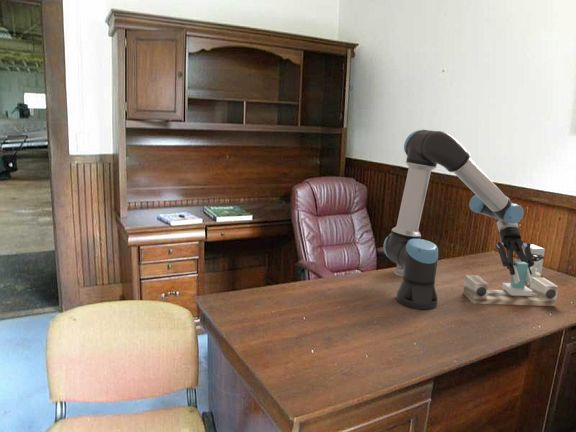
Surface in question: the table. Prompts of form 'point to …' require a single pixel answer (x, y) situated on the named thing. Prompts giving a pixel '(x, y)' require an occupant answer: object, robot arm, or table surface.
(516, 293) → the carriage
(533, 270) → the valve
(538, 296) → the rail board
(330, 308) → the table surface
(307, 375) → the table surface
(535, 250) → the small box
